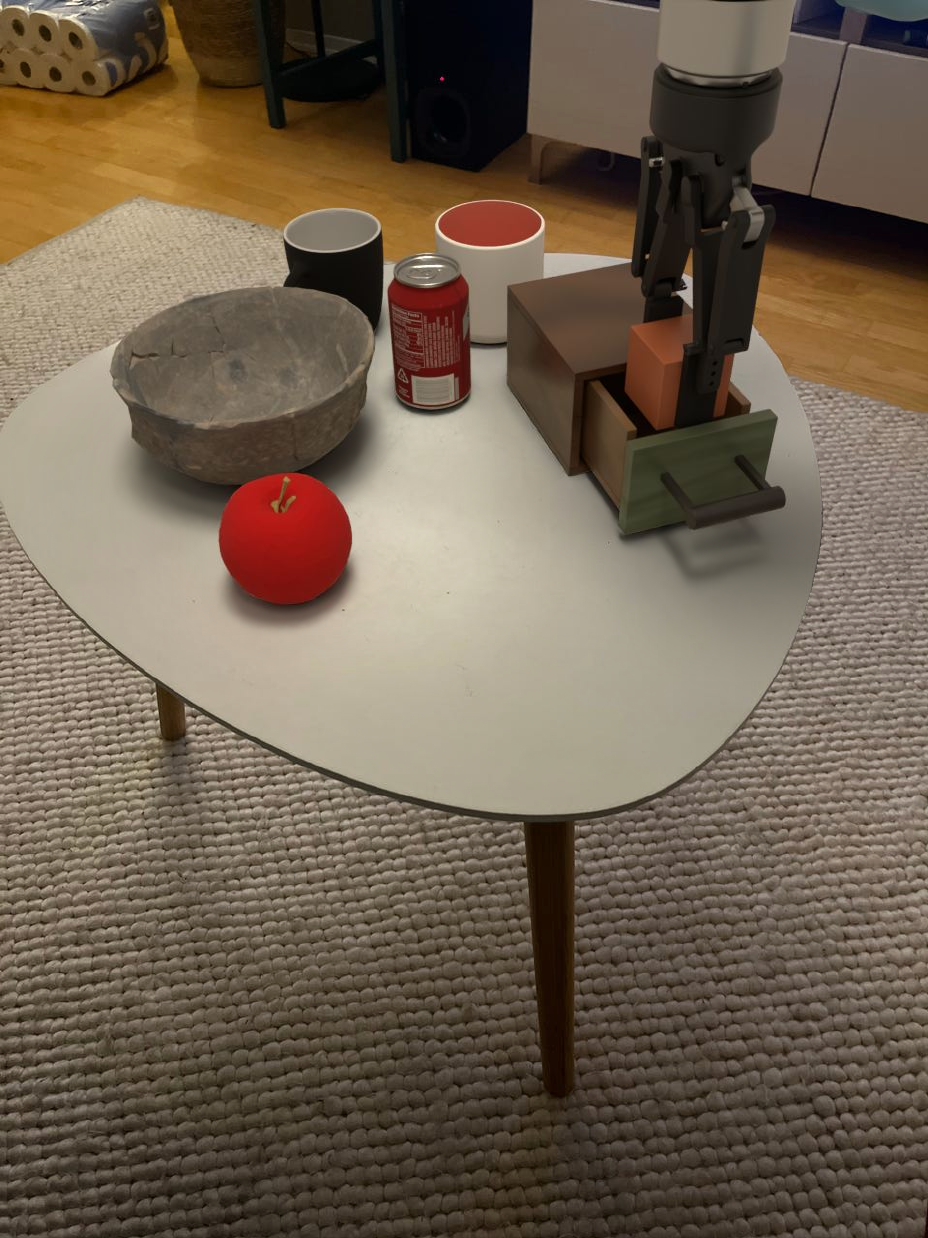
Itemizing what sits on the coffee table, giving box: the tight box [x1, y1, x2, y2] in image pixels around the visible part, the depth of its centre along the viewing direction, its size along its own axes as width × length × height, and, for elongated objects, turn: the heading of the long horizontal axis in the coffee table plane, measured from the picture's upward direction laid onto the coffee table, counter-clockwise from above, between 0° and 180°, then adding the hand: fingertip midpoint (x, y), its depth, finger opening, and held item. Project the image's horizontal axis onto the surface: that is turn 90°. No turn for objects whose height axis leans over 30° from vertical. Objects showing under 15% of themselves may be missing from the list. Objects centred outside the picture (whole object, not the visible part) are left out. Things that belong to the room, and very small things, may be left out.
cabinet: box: [506, 261, 693, 477], centre depth 89 cm, size 15×13×10 cm
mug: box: [282, 207, 385, 333], centre depth 99 cm, size 12×9×10 cm
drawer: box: [579, 372, 787, 536], centre depth 81 cm, size 19×11×8 cm, turn 19°
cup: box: [434, 199, 546, 344], centre depth 100 cm, size 10×10×10 cm
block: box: [625, 314, 736, 430], centre depth 77 cm, size 6×6×6 cm
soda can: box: [386, 252, 472, 411], centre depth 91 cm, size 7×7×12 cm
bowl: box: [109, 285, 376, 486], centre depth 86 cm, size 21×21×10 cm
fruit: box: [218, 472, 353, 605], centre depth 75 cm, size 9×9×10 cm
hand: (673, 399), depth 79 cm, fingers closed on block, 5 cm apart
